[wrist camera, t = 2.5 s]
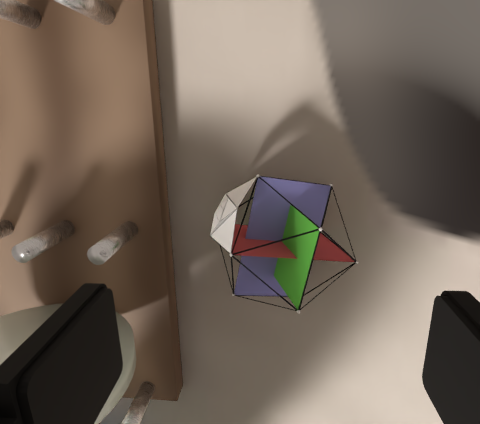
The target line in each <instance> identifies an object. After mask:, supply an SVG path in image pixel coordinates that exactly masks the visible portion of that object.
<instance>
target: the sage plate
mask: <svg viewBox="0 0 480 424" xmlns="http://www.w3.org/2000/svg"><path fill="white" fill-rule="evenodd" d="M61 305H62V304H52V305H44V306H39V307H33V308H29V309H24V310H20V311H16V312H13V313H9V314H6V315H3V316H0V365H1V364H2V363H3V362H4V361H5V360H6V359H7V358H8V357H9V356H10V355H11V354H12V353H13V352H14V351H15V350H16V349H17V348H18V347H19V346H20V345H21V344H22V343H23V342H24V341H25V340H26V339H27V338H28V337H29V336H31V335H32V334H33V333H34V332H35V331H36V330H37V329H38V328H39V327H40V326H41V325H42V324H43V323H44V322H45V321H46V320H47V319H48V318H49V317H50V316H51V315H52V314H53V313H54V312H55V311H56V310H57V309H58V308H59V307H60V306H61ZM116 318H117V325H118V332H119V339H120V345H121V352H122V359H123V369H122V373H121V375H120V377H119V379H118V381H117V383H116V385H115V386H114V388H113V390H112V392H111V394H110V396H109V397H108V399H107V401H106V403H105V405H104V407H103V408H102V410H101V412H100V414H99V416H98V417H97V419H96V421H95V423H94V424H99V423H100V422H101V421H102V420H103V419H104V418H105V417H106V416H107V415H108V414H109V413H110V412H111V411H112V409H113V408H114V407H115V406H116V404H117V403H118V402H119V401H120V399H121V398H122V396H123V395H124V393H125V391H126V390H127V388H128V386H129V384H130V382H131V380H132V378H133V375H134V371H135V367H136V351H135V343H134V335H133V330H132V328H131V325H130V324H129V323H128V321H127V320H126V319H125V318H124V317H123V316H122V315H120V314H119V313H117V312H116Z"/></svg>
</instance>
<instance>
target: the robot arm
mask: <svg viewBox="0 0 480 424" xmlns="http://www.w3.org/2000/svg"><path fill="white" fill-rule="evenodd" d="M122 369H123V359H122V352H121V345H120V339H119V332H118V325H117V318H116V311H115V304H114V298H113V292H112V290H111V289H110V288H107V286H106V285H105V284H103V283H85V284H83V285H82V286H81V287H80V288H79V289H78V290H77V291H76V292H75V293H74V294H73V295H72V296H71V297H70V298H69V299H68V300H66V301H65V302H64V303H63V304H62V305H61V306H60V307H59V308H58V309H57V310H56V311H55V312H54V313H53V314H52V315H51V316H50V317H49V318H48V319H47V320H46V321H45V322H44V323H43V324H42V325H41V326H40V327H39V328H38V329H37V330H36V331H35V332H34V333H33V334H32V335H31V336H29V337H28V338H27V339H26V340H25V341H24V342H23V343H22V344H21V345H20V346H19V347H18V348H17V349H16V350H15V351H14V352H13V353H12V354H11V355H10V356H9V357H8V358H7V359H6V360H5V361H4V362H3V363H2V364H1V365H0V424H94V423H95V421H96V419H97V417H98V416H99V414H100V412H101V410H102V408H103V407H104V405H105V403H106V401H107V399H108V397H109V396H110V394H111V392H112V390H113V388H114V386H115V385H116V383H117V381H118V379H119V377H120V375H121V373H122ZM422 379H423V385H424V388H425V390H426V392H427V394H428V395H429V397H430V399H431V401H432V403H433V405H434V407H435V408H436V410H437V412H438V414H439V416H440V418H441V420H442V421H443V423H444V424H480V302H479V301H478V300H476V299H475V298H474V297H473V296H472V295H471V294H470V293H469V292H467V291H444V292H442V294H441V296H436V298H435V300H434V305H433V312H432V318H431V324H430V330H429V337H428V343H427V349H426V355H425V361H424V368H423V374H422Z"/></svg>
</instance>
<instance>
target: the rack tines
mask: <svg viewBox="0 0 480 424" xmlns="http://www.w3.org/2000/svg"><path fill="white" fill-rule="evenodd" d="M54 1H56V2H58V3H60V4H62V5H64V6H66V7H68V8H70V9H72V10H75V11H77V12H79V13H81V14H83V15H85V16H87V17H89V18H91V19H93V20H95V21H97V22H99V23H101V24H103V25H110V24H111V23H112V22H113V21H114V19H115V11H114V9H113V7H112V6H111V5H110V4H108V3H106V2H105V1H103V0H54ZM0 18H1V19H4V20H7V21H10V22H13V23H16V24H20V25H23V26H26V27H29V28H32V29H35V28H37V27H39V26H40V24H41V15H40V13H39V12H38V10H37V9H35V8H33V7H31V6H28V5H26V4H23V3H21V2H19V1H16V0H0ZM13 231H14V226H13V224H12V223H11V222H10V221H8V220H1V221H0V239H1V238H4V237H6V236H8V235H10V234H12V233H13ZM74 231H75V228H74V225H73V224H72V223H71V222H70V221H67V220H64V221H61V222H60V223H58V224H56V225H54V226H52V227H50V228H48V229H46V230H44V231H42V232H40V233H38V234H36V235H34V236H32V237H30V238H28V239H27V240H25V241H23V242H21V243H19V244H17V245H15V246H14V247H13V248H12V256H13V257H14V259H15V260H16V261H18V262H20V263H26V262H28V261H30V260H31V259H33V258H35V257H36V256H38V255H39V254H41V253H43V252H44V251H46V250H48V249H49V248H51V247H53V246H54V245H56V244H58V243H59V242H61V241H63V240H64V239H66V238H68V237H69V236H71V235H72V234H73V233H74ZM137 233H138V227H137V225H136V224H135V223H134V222H132V221H126V222H125V223H123V224H122V225H120V226H119V227H118V228H116V229H115V230H114V231H112V232H111V233H110V234H108V235H107V236H105V237H104V238H103V239H101V240H100V241H99V242H97V243H96V244H95V245H93V246H92V247H90V248H89V250H88V252H87V256H88V259H89V260H90V261H91V262H92V263H93V264H96V265H101V264H104V263H105V262H106V261H107V260H108V259H109V258H110V257H112V256H113V255H114V254H115V253H116V252H117V251H118V250H120V249H121V248H122V247H123V246H124V245H125V244H126V243H127V242H129V241H130V240H131V239H132V238H133V237H134V236H135V235H136V234H137ZM154 390H155V386H154V384H153V383H151V382H149V381H145V382H143V383H142V384H141V386H140V388H139V390H138V392H137V394H136V396H135V398H134V400H133V402H132V404H131V406H130V408H129V410H128V412H127V414H126V416H125V418H124V420H123V422H122V424H140V422H141V420H142V417H143V415H144V413H145V411H146V408H147V406H148V404H149V402H150V399H151V397H152V395H153V393H154Z"/></svg>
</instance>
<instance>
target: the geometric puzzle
mask: <svg viewBox="0 0 480 424" xmlns="http://www.w3.org/2000/svg"><path fill="white" fill-rule="evenodd" d="M256 178H257V179H256ZM255 180H256V182H255V185H254V188H253V190H252V193H251V196H250V199H249V200H248V201H249V202H248V201H246V202H248V205H247V208H246V211H245V214H244V217H243V220H242V222H241V225H239V224H235V223H236V215H237V208H238V207H240V206H242V205H243V204H245V203H246V202H245V203H243V204H242V205H240V203H241V202H242V200H243V199H244V197H245V196H246V194H247V192H248V191H249V189H250V188H251V186H252V185H253V183H254V181H255ZM256 183H257V184H256ZM255 186H256V188H255ZM332 186H333V185H332V184H330V185H324V184H317V183H309V182H302V181H294V180H287V179H279V178H272V177H264V176H260V175H259V174H257V177H255V178H253V179H251V180H249V181H247V182H246V183H244V184H242V185H240V186H238V187H236V188H235V189H233V190H231V191H229V192H227V193H226V194H225V195H224V197H223V199H222V201H221V202H220V204H219V206H218V208H217V209H216V211H215V213H214V218H213V222H212V228H211V233H210V237H211V238H213V239H214V240H215V241H216V242H217V243H218V244H219V245H220V248H221V247H223V248H224V249H225V250H226V251H227V252H228V253H229V256H230V257H231V266H232V281H233V265H232V257H233V258H234V259H235V260H237V261H238V262H239V263H240V266H239V271H238V276H237V281H236V286H235V291H234V281H233V289H232V291H233V294H232V296H238V297H240V296H280V297H281V298H282V299H283V300H285V299H284V298H283V297H289V299H290V300H291V301H292V303H293V304H294V306H295V307H296V308H295V307H294V306H293V305H291V304H290V303H289V302H288V301H287V300H285V301H286V302H287V303H288V304H289V305H291V306H292V307H293V308H294V309H295V311H297V313H300V310H301V309H302V308H303V307H302V308H301V309H300V307H301V303H302V299H303V296H304V295H306V294H307V293H309V292H311V291H312V290H314V289H315V288H317V287H318V286H317V287H315V288H314V289H312V290H311V291H309V292H307V293H306V294H304V292H305V288H306V285H307V281H308V277H309V274H310V270H311V266H312V262H313V260H326V261H343V262H355V263H354V264H358V261H356V258H355V259H354V258H353V257H351V256H350V255H349V254H348V253H347V252H346V251H345V250H344V249H343V248H342V247H341V246H340V245H339V244H338V243H337V242H335V241H334V240H333V239H332V238H331V237H330V236H329V235H328V234H327V233H326V232H325V231H324V230H323V229H322V226H323V222H324V218H325V214H326V210H327V206H328V202H329V198H330V193H331V190H332V189H333V188H332ZM254 189H255V193H254V197H253V198H252V195H253V192H254ZM333 192H334V191H333ZM334 196H335V194H334ZM251 199H253V203H252V208H251V213H250V218H249V223H248V225H242V224H243V221H244V218H245V215H246V212H247V209H248V206H249V203H250V200H251ZM335 199H336V197H335ZM336 202H337V200H336ZM239 205H240V206H239ZM337 205H338V203H337ZM338 208H339V206H338ZM339 211H340V209H339ZM340 214H341V212H340ZM341 217H342V215H341ZM342 220H343V218H342ZM343 223H344V221H343ZM344 226H345V225H344ZM345 229H346V228H345ZM321 231H322V232H323V233H324V234H325V235H326V236H327V237H326V236H325V235H324V234H323V233H321ZM346 232H347V231H346ZM347 236H348V234H347ZM328 237H329V238H330V239H331V240H332V241H331V240H330V239H329V238H328ZM348 239H349V237H348ZM349 242H350V240H349ZM350 245H351V243H350ZM351 248H352V246H351ZM221 251H222V249H221ZM352 251H353V249H352ZM353 254H354V252H353ZM222 255H223V253H222ZM233 255H240V256H242V257H241V262H240V261H239V260H238V259H236V258H235V257H234V256H233ZM354 257H355V255H354ZM223 259H224V256H223ZM224 262H225V260H224ZM354 264H352V265H350V266H351V267H352V266H353V265H354ZM225 266H226V264H225ZM350 266H349V267H350ZM349 267H347V268H349ZM351 267H350V268H351ZM347 268H346V269H347ZM346 269H344V270H346ZM226 270H227V267H226ZM344 270H342V271H344ZM347 270H348V269H347ZM347 270H346V271H347ZM342 271H341V272H342ZM346 271H345V272H346ZM341 272H339V273H341ZM345 272H344V273H345ZM227 273H228V271H227ZM339 273H338V274H339ZM344 273H343V274H344ZM338 274H336V275H338ZM336 275H335V276H336ZM341 275H342V274H341ZM341 275H340V276H341ZM340 276H339V277H340ZM228 277H229V275H228ZM333 277H334V276H333ZM333 277H331V278H333ZM339 277H338V278H339ZM331 278H330V279H331ZM338 278H337V279H338ZM330 279H328V280H330ZM229 280H230V278H229ZM328 280H327V281H328ZM334 281H335V280H334ZM334 281H333V282H334ZM325 282H326V281H325ZM325 282H323V283H325ZM333 282H332V283H333ZM323 283H322V284H323ZM332 283H331V284H332ZM230 284H231V282H230ZM322 284H320V285H322ZM320 285H319V286H320ZM328 286H329V285H328ZM328 286H327V287H328ZM327 287H326V288H327ZM231 288H232V286H231ZM326 288H325V289H326ZM325 289H324V290H325ZM322 291H323V290H322ZM322 291H321V292H322ZM321 292H320V293H321ZM320 293H319V294H320ZM319 294H318V295H319ZM315 297H316V296H315ZM315 297H314V298H315ZM242 298H244V297H242ZM314 298H313V299H314ZM246 299H249V298H246ZM313 299H312V300H313ZM250 300H253V299H250ZM312 300H311V301H312ZM254 301H257V300H254ZM258 302H261V301H258ZM309 302H310V301H309ZM309 302H308V303H309ZM262 303H265V302H262ZM308 303H307V304H308ZM266 304H269V303H266ZM307 304H306V305H307ZM270 305H273V304H270ZM306 305H305V306H306ZM274 306H277V305H274ZM278 307H281V306H278ZM282 308H285V307H282ZM287 309H289V308H287ZM291 310H293V309H291Z"/></svg>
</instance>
